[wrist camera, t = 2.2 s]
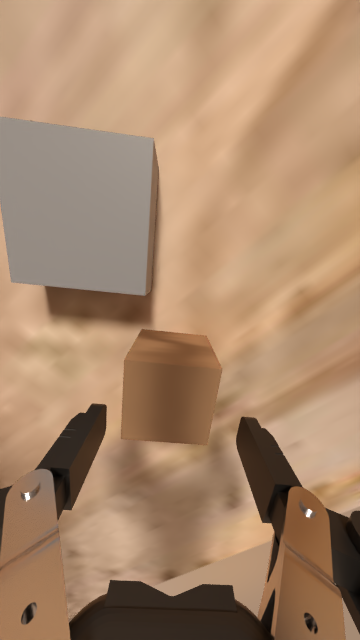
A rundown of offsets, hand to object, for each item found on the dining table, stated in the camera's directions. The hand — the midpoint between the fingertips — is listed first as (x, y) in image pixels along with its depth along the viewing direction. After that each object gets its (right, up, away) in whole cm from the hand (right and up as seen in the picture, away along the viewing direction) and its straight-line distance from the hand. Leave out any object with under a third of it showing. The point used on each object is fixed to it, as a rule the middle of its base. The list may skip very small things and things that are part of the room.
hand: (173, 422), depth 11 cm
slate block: (-6, +13, +4) cm, 15 cm away
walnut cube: (0, +2, +7) cm, 7 cm away
